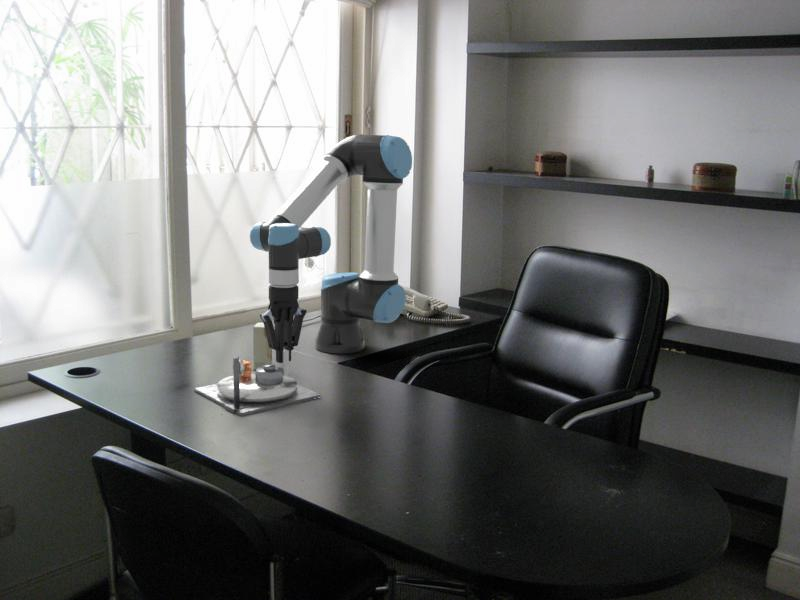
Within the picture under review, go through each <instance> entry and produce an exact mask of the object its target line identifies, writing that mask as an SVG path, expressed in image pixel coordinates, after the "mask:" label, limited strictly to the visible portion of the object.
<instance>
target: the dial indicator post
mask: <svg viewBox="0 0 800 600" xmlns="http://www.w3.org/2000/svg"><path fill="white" fill-rule="evenodd" d="M232 360H233V361H232V370H233V371H232V373H233V378H234V403H233V404H228V405H225V407H224V408H225V410H226V411H228V412H230V413H232V414H233V415H234V414H236V410H238V409H242V408H247V407H248V406H247V405H245V404H243V403H241V402H240V381H239V376H240V375H243V374H244V372H245V366H244V363H243V360H242V358H240V357H239V356H233V358H232Z"/></svg>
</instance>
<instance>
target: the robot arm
mask: <svg viewBox="0 0 800 600" xmlns="http://www.w3.org/2000/svg"><path fill="white" fill-rule="evenodd" d="M412 155H413V154H412V151H411V149H410V146H409V145H408V142H406V140H405V139H404V138H402V137H399V136H394V135H387V134H386V135H384V134H383V135H381V134H378V135H377V134H362V133H359V134H353V135H350V136H348V137H345V138H344V139H342V140H340V141H338V142H337V143H336V144H334V145H333V146H331V147H330V149H328V150H327V151H326V152H325V153H324V154H323V155H322V156H321V157H320V159H319V160H318V161H319V162H318V166H317V167H316V168H315V169H314V171H313V172H312V173H311V174H310V175H309V176H308V177H307V178H306V179H305V181H303V182H302V183H301V185H300V186H298V188H297V189H296V190H295V192H294V193H293V194H291V196H290V197H289V198H288V199H287V200H286V201H285V203H284V204H283V205H281V207H279V209H278V210H277V211H276V212H275V213H274V215H273V216H272V217H271V218H270V219H269V220H268V221H267V222H265V221H262V222H257V223H255V224H253V226H252V227H251V229H250V233H249V240H250V243H251V245H252V247H253V248H255V249H256V250H258V251H259V250H260V251H263V252H267V253H268V283H269V286H268V300H269V304H268V306H267V310H266V311H265V312H264V313H263V312H262V313H260V314H259V317H260V319H261V321H262V323H264V327H265V331H266V336H267V340H268V345H269V347H270V348H272V350H275V362H276V363H277V364H278V366H277V367H280V368H282V369H283V376H285V375H286V376H289V375H290V368H289V367H290V364H289V363H290V362H292V351H294V350H295V348H294V347H297V346H298V345H299V341H300V337H301V332H302V326H303V321H304V318H305V316H306V314H307V312H308V310H307V309H305V308H302V307H300V304H299V302H298V299H299V285H298V284H299V282H300V280H299V275H300V274H299V272H300V271H299V270H300V269H299V268H300V267H299V261H300V260H302V259H307V258H316V257H320V256H323V255H325V254H326V253H327V252H328V251H329V250H330V248H331V245H332V239H331V236H330V233H329V232H328V230H326V229H325V228H324V227H321V226H317V227H316V226H312V227H302V226H303V225H304V224H305V222H307V220H308V219H309V218H310V216H312V215H313V213H314V212H315V211H316V210H317V209H318V208H319V207H320V205H321V204H322V203H323V202H324V201H325V200H326V199H327V198H328V196H330V194H331V193H333V190H335V189H336V187H337V186H338V185H339V184H343V183H345V182H346V181H347V180H348V178H350V177H352V176H356V175H357V176H362V184H363V185H364V186H365V188H367V193H366V194H367V195H366V196H367V197H366V215H365V216H366V219H365V222H366V223H365V242H364V243H365V247H364V248H365V249H364V267H363V268H364V269H363V270H362V272H361V273H359V272H338V273H332V274H326V275H325V276H324V277H323V278H322V279H321V287H320V288H321V289H320V297H321V298H320V302H321V303H320V305H321V306H320V308H321V311H320V313H321V314H320V315H321V316H320V318H321V320H320V326H319V328H318V331H317V335H316V337H315V341H314V346H315V349H316V350H317V351H320V352H323V353H327V354H338V355H340V354H343V355H344V354H353V353H358V352H361V351H362V350H364V349H365V338H364V336H363V332H362V329H361V325H360V319H362V320H366V321H371V322H375V323H378V324H379V323H383V324H384V323H385V324H390V323H393V322H395V321H396V320H397V319H398V318H399V317H400V315H401V313H402V311H403V310H404V307H405V304H406V291H405V288H404V287H403V286H402V285H400V284H399V276H398V275H397V273H395V271H394V267H395V266H394V265H395V247H396V246H395V244H396V243H395V242H396V223H397V203H398V202H397V201H398V200H397V199H398V189H400V187H401V186H402V185H403V183H404V179H405V178H407V177H408V176H409V175H410V173H411V172H410V171H412V168H413V156H412ZM272 319H273V320H272ZM273 323H274V324H273Z"/></svg>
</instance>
